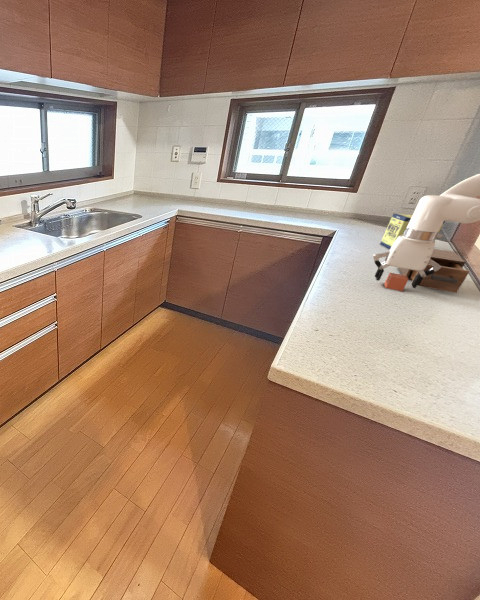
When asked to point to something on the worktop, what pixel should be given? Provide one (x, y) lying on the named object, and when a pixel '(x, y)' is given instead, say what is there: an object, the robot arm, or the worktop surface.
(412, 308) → the worktop surface
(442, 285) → the drawer
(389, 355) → the worktop surface
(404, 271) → the cabinet
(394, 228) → the protein box
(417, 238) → the robot arm
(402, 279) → the block
